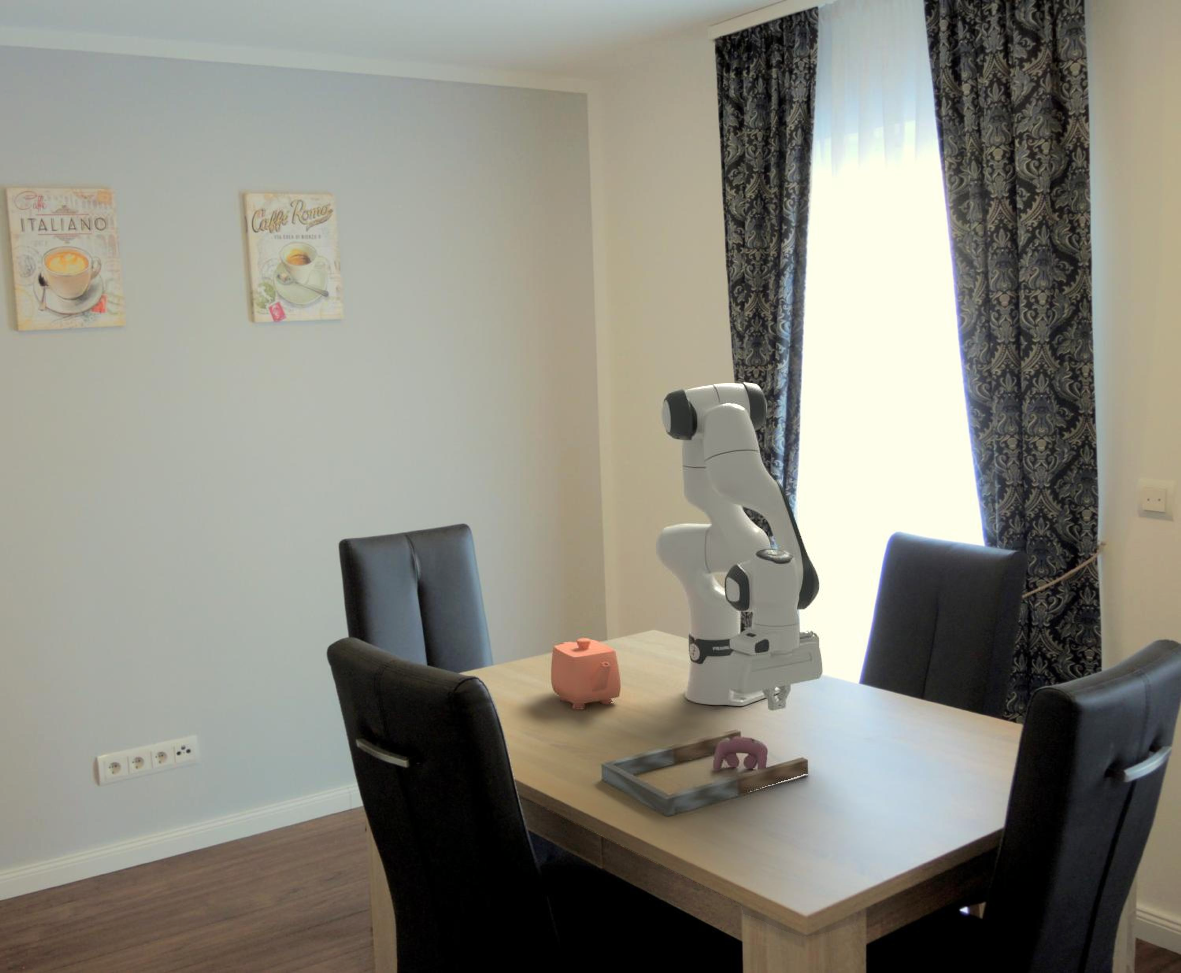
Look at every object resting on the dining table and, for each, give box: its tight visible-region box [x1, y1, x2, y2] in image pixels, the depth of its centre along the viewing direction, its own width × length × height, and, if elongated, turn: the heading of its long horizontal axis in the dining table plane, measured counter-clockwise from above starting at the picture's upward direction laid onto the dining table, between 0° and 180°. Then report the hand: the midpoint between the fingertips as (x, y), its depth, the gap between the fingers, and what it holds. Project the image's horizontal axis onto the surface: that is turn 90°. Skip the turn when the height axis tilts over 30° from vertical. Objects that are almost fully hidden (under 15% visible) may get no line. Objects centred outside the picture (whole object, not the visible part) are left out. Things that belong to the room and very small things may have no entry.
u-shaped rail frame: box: [600, 729, 809, 817], centre depth 210 cm, size 31×21×3 cm
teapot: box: [550, 637, 621, 710], centre depth 258 cm, size 22×13×14 cm, turn 25°
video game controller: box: [712, 736, 769, 773], centre depth 213 cm, size 10×5×7 cm, turn 71°
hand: (776, 708), depth 217 cm, fingers closed
